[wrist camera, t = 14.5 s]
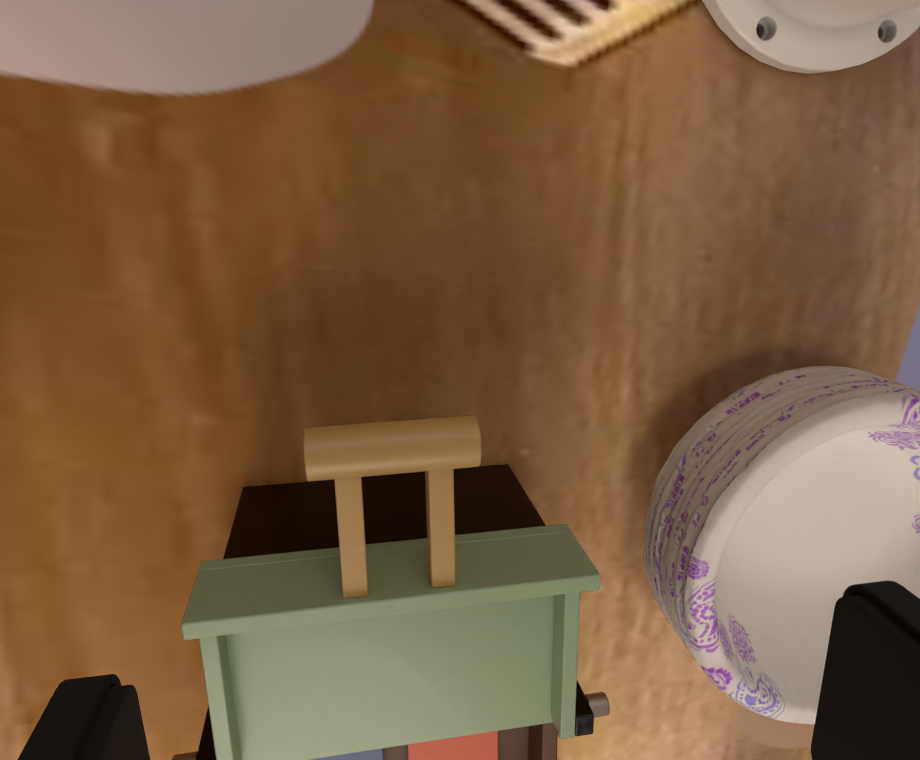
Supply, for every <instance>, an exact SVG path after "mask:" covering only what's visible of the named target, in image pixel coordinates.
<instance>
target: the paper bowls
mask: <svg viewBox="0 0 920 760" xmlns="http://www.w3.org/2000/svg"><path fill="white" fill-rule="evenodd" d="M643 541H644V546H645V547H644V548H643V557H644V565H645V568H646V575H647V579H648V582H649V585H650V588H651V591H652V593H653V596H654V598H655V600H656V601H657V603H658V604H659V606H660V608H661V610H662V612H663V613H664V615H665V616H666V618H667V620H668V622H669V624H670V625H671V626H672V628H673V629H674V631H675V632H676V633H677V635H678V636H679V637H680V638H681V640H682V641H683V643H684V644H685V646H686V647H687V649H688V650H689V651H690V653H691V654H692V655H693V657H694V658H695V659H696V660H697V662H698V663H699V665H700V666H701V667H702V669H703V671H704V672H705V673H706V675H707V676H708V677H709V678H710V680H711V681H712V682H713V684H715V685H716V686H717V687H718V688H719V689H720V690H721V691H722V692H723V693H725V694H726V695H727V696H728V697H729V698H731V699H732V700H733V701H735V702H736V703H738V704H740V705H741V706H743V707H746V708H747V709H749V710H751V711H753V712H756V713H758V714H760V715H762V716H766V717H769V718H772V719H775V720H779V721H785V722H790V723H797V724H815V720H816V714H817V708H818V702H819V696H820V690H821V684H822V679H823V673H824V667H825V661H826V655H827V649H828V643H829V637H830V631H831V625H832V619H833V613H834V607H835V604H836V601H837V600H838V599H839V598H841V597H843V594H844V591H845V590H846V589H847V588H848V586H851V585H854V584H862V583H871V582H879V581H887V580H888V581H895V582H897V583H898V584H900V585H902V586H903V587H905V588H906V589H907V590H909V591H910V592H911V593H913V594H914V595H915V596H917V597H918V598H919V599H920V390H918V389H915V388H912V387H908V386H906V385H903V384H901V383H898V382H895V381H891V380H889V379H886V378H883V377H880V376H877V375H875V374H872V373H869V372H866V371H863V370H860V369H855V368H850V367H842V366H811V367H803V368H798V369H791V370H787V371H782V372H779V373H776V374H772V375H769V376H767V377H765V378H762V379H760V380H757V381H755V382H753V383H751V384H749V385H747V386H745V387H743V388H741V389H739V390H738V391H736V392H734V393H733V394H731V395H730V396H729V397H727V398H726V399H725V400H723V401H721V402H719V403H718V404H717V405H716V406H714V407H713V408H712V409H711V410H709V411H708V412H707V413H706V414H704V415H703V416H702V417H701V418H700V419H699V420H698V421H697V422H696V423H695V424H694V425H693V426H692V428H691V429H690V430H689V431H688V432H686V434H685V435H684V436H683V437H682V438H681V440H680V441H679V442H678V443H677V444H676V445H675V446H674V448H673V450H672V452H671V454H670V455H669V457H668V459H667V461H666V462H665V464H664V466H663V467H662V469H661V470H660V472H659V475H658V477H657V479H656V482H655V486H654V489H653V493H652V497H651V500H650V503H649V507H648V510H647V514H646V518H645V524H644V536H643Z"/></svg>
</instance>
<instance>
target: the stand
mask: <svg viewBox="0 0 920 760" xmlns="http://www.w3.org/2000/svg"><path fill="white" fill-rule="evenodd" d="M361 478H362V494H363V511H364V527H365V544H376V543H385V542H395V541H405V540H414V539H424V538H427V514H426V483H425V472H414V473H403V474H391V475H380V476H368V477H361ZM454 517H455V535H463V534H472V533H482V532H492V531H501V530H511V529H521V528H530V527H540V526H546V525H545V523H544V522H543V520H542V518H541V517H540V515H539V514H538V512H537V510H536V509H535V507H534V506H533V504H532V502H531V501H530V499H529V497H528V496H527V494H526V493H525V491H524V489H523V488H522V486H521V485H520V483H519V481H518V480H517V478H516V476H515V475H514V473H513V472H512V470H511V468H510V467H509V465H508V464H506V465H494V466H483V467H471V468H460V469H454ZM337 547H339V537H338V523H337V509H336V495H335V482H334V480H322V481H311V482H300V483H288V484H277V485H265V486H254V487H244V488H243V490H242V493H241V497H240V500H239V504H238V508H237V511H236V515H235V518H234V522H233V525H232V529H231V533H230V536H229V540H228V543H227V547H226V550H225V554H224V558H223V559H231V558H240V557H250V556H260V555H269V554H279V553H289V552H298V551H308V550H318V549H327V548H337ZM609 711H610V707H609V701H608V698H607V696H606V694H605V693H604V692H599V693H592V694H585V695H584V693H583V691H582V689H581V687H580V685H579V683H578V681H577V684H576V710H575V736H582V735H588V734H593V724H594V717H601V716H607V715H609ZM172 760H216V754H215V747H214V740H213V733H212V726H211V719H210V712H209V706H208V710H207V714H206V719H205V723H204V727H203V732H202V736H201V740H200V745H199V749H198V752H191V753H184V754H177V755H174V756H173V759H172Z"/></svg>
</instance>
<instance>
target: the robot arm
mask: <svg viewBox="0 0 920 760" xmlns="http://www.w3.org/2000/svg"><path fill="white" fill-rule="evenodd" d="M702 2H703V3H704V5H705V6H706V8H707V10H708V11H709V13H710V14H711V16H712V17H713V19H714V21H715V22H716V24H717V25H718V27H719V28H720V29H721V30H722V31H723V32H724V33H725V34H726V35H727V36H728V37H729V38H730V39H731V40H732V41H733V42H734V44H735V45H736V46H737V47H739V48H740V49H742V50H743V51H745V52H746V53H748V54H749V55H751V56H752V57H754V58H755V59H757V60H758V61H760V62H762V63H765V64H767V65H770V66H773V67H775V68H778V69H781V70H783V71H791V72H798V73H806V74H812V73H821V72H831V71H837V70H841V69H845V68H849V67H853V66H857V65H861V64H863V63H866V62H868V61H870V60H872V59H874V58H877V57H879V56H881V55H883V54H886V53H887V52H888V51H890V50H891V49H893V48H894V47H896V46H897V45H898V44H900V43H901V42H903V41H904V40H906V39H907V38H908V37H910V36H911V35H912V34H913V33H914V32H915V31H916V30H917V29H918V28H919V27H920V0H702ZM756 28H757V29H758V35H757V30H756ZM811 755H812V760H920V599H919V598H918V597H917V596H915V595H914V594H913V593H911V592H910V591H909V590H907V589H906V588H905V587H903V586H902V585H900V584H898V583H897V582H895V581H888V580H887V581H879V582H871V583H862V584H854V585H851V586H848V588H847V589H846V590H845V591H844V594H843V597H841V598H839V599H838V600H837V601H836V604H835V607H834V613H833V619H832V625H831V631H830V637H829V643H828V649H827V655H826V661H825V667H824V673H823V679H822V684H821V690H820V696H819V702H818V708H817V714H816V720H815V726H814V732H813V738H812V744H811ZM18 760H150V757H149V752H148V747H147V741H146V736H145V731H144V726H143V721H142V716H141V711H140V706H139V701H138V695H137V692H136V689H135V687H134V686H133V685H125V686H121V683H120V680H119V678H118V677H117V675H114V674H110V675H102V676H94V677H86V678H77V679H69V680H65V681H63V682H61V683H60V684H59V686H58V687H57V689H56V690H55V692H54V694H53V696H52V698H51V699H50V701H49V703H48V705H47V707H46V709H45V710H44V712H43V714H42V716H41V718H40V720H39V721H38V723H37V725H36V727H35V729H34V731H33V732H32V734H31V736H30V738H29V740H28V742H27V743H26V745H25V747H24V749H23V751H22V753H21V754H20V756H19V758H18Z"/></svg>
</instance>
